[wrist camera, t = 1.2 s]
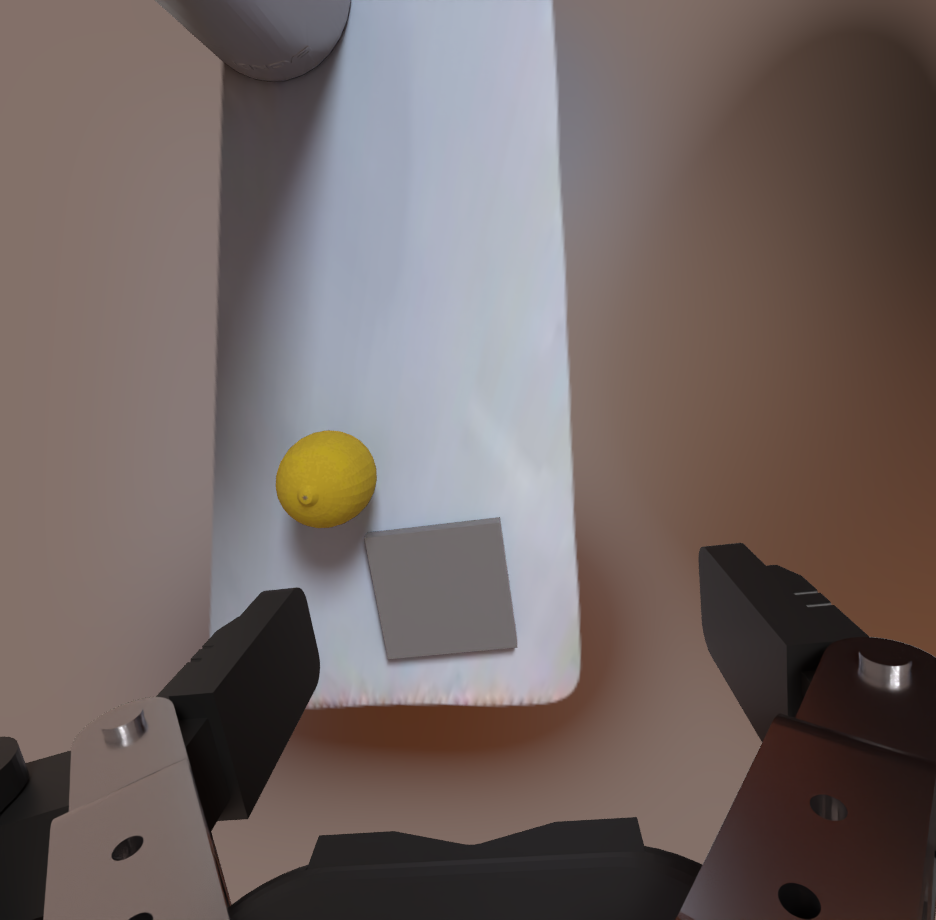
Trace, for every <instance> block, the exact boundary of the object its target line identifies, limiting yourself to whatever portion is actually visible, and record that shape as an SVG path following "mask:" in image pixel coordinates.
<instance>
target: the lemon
mask: <svg viewBox="0 0 936 920" xmlns="http://www.w3.org/2000/svg"><path fill="white" fill-rule="evenodd" d="M376 481H377V475H376V466H375V463H374V459H373V457H372V455H371V453H370V452H369V450H368V448H367V447H366V446H365V445H364V444H363V443H362V442H361V441H360V440H358V439H356V438H355V437H353V436H352V435H349V434H346V433H343V432H340V431H322V432H316V433H313V434H311V435H308V436H306V437H304V438H302V439H300V440H299V441H298V442H297V443H296V444H294V445H293V446H292V447H291V448H290V449H289V450H288V452H287V453H286V455H285V456H284V458H283V459H282V461H281V463H280V465H279V468H278V472H277V475H276V491H277V496H278V499H279V501H280V503H281V505H282V507H283V508H284V510H285V511H286V512H287V513H288V515H290V516H291V517H292V518H293V519H295V520H296V521H297V522H300V523H302V524H304V525H306V526H311V527H315V528H329V527H334V526H337V525H340V524H343V523H346V522H347V521H349V520H351V519H352V518H354V517H356V516H357V515H358V514H359V513H360V512H361V511H362V510H363V509H364V508H365V507H366V506H367V504H368V503H369V501H370V499H371V497H372V495H373V493H374V489H375V485H376Z"/></svg>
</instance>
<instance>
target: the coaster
mask: <svg viewBox="0 0 936 920" xmlns="http://www.w3.org/2000/svg"><path fill="white" fill-rule="evenodd" d="M364 540H365V545H366V550H367V555H368V560H369V565H370V570H371V576H372V581H373V586H374V591H375V596H376V601H377V606H378V611H379V616H380V621H381V626H382V631H383V636H384V641H385V646H386V651H387V657H388V659H398V658H408V657H419V656H430V655H441V654H452V653H463V652H473V651H484V650H495V649H506V648H517V634H516V627H515V620H514V613H513V606H512V599H511V592H510V585H509V578H508V571H507V564H506V556H505V549H504V542H503V535H502V528H501V521H500V517H499V518H490V519H481V520H473V521H464V522H455V523H447V524H438V525H429V526H421V527H412V528H403V529H395V530H386V531H377V532H369V533H367V534H366V536H365V537H364Z"/></svg>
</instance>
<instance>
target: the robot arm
mask: <svg viewBox="0 0 936 920" xmlns="http://www.w3.org/2000/svg"><path fill="white" fill-rule="evenodd" d="M155 1H156V2H157V3H158V4H159V5H161V6H162V7H163V8H164V9H165V10H166V11H167V12H168V13H170V14H171V15H172V16H173V17H174V18H175V19H176V20H178V22H180V23H181V24H182V25H183V26H184V27H185V28H186V29H187V30H188V31H189V32H190V33H192V34H193V35H194V36H195V37H196V38H197V39H198V40H200V41H201V42H202V43H203V44H204V45H205V46H206V47H208V48H209V49H210V50H211V51H212V52H213V53H214V54H215V55H216V56H218V57H219V58H220V59H221V60H222V61H223V62H224V63H226V64H227V65H229V66H230V67H232V68H233V69H234V70H236V71H237V72H239V73H242V74H244V75H246V76H249V77H251V78H253V79H259V80H265V81H282V80H289V79H292V78H295V77H298V76H301V75H303V74H305V73H306V72H308V71H310V70H311V69H313V68H314V67H316V66H318V65H319V64H320V63H321V62H322V61H323V60H324V59H325V58H326V57H327V56H328V55H329V54H330V52H331V51H332V49H333V48H334V46H335V44H336V43H337V41H338V40H339V38H340V36H341V34H342V31H343V29H344V26H345V24H346V21H347V18H348V12H349V7H350V2H351V0H155ZM699 576H700V594H701V612H702V626H703V632H704V637H705V641H706V644H707V647H708V650H709V652H710V654H711V656H712V658H713V659H714V661H715V663H716V665H717V666H718V668H719V670H720V672H721V673H722V675H723V677H724V678H725V680H726V682H727V683H728V685H729V687H730V688H731V690H732V692H733V693H734V695H735V697H736V699H737V700H738V702H739V704H740V706H741V707H742V709H743V710H744V712H745V714H746V716H747V717H748V719H749V721H750V722H751V724H752V726H753V728H754V729H755V731H756V733H757V734H758V736H759V738H760V739H761V741H762V744H761V746H760V748H759V750H758V752H757V754H756V756H755V758H754V760H753V762H752V764H751V767H750V769H749V771H748V773H747V775H746V777H745V779H744V781H743V783H742V785H741V787H740V789H739V791H738V793H737V795H736V797H735V799H734V801H733V803H732V805H731V808H730V810H729V812H728V814H727V816H726V818H725V820H724V822H723V824H722V826H721V828H720V830H719V832H718V834H717V836H716V838H715V840H714V842H713V844H712V846H711V849H710V851H709V853H708V855H707V857H706V859H705V861H704V863H703V865H702V864H700V863H698V862H695V861H693V860H690V859H688V858H685V857H683V856H680V855H678V854H674V853H671V852H667V851H664V850H661V849H657V848H652V847H647V846H644V844H643V840H642V836H641V832H640V828H639V824H638V820H637V817H633V818H616V819H599V820H581V821H564V822H554V823H550V824H547V825H544V826H540V827H536V828H533V829H529V830H526V831H522V832H519V833H515V834H512V835H508V836H505V837H502V838H498V839H495V840H491V841H488V842H484V843H481V844H476V845H465V844H459V843H453V842H448V841H443V840H438V839H432V838H427V837H422V836H416V835H411V834H406V833H400V832H395V831H391V832H374V833H358V834H357V833H356V834H339V835H322V836H319V837H318V840H317V843H316V845H315V848H314V851H313V854H312V856H311V859H310V862H309V865H306V866H303V867H299V868H297V869H294V870H292V871H290V872H287V873H284V874H282V875H280V876H278V877H276V878H274V879H272V880H270V881H268V882H266V883H264V884H262V885H261V886H259V887H257V888H256V889H254V890H253V891H251V892H249V893H248V894H246V895H245V896H243V897H242V898H240V899H239V900H238V901H236V902H235V903H234V904H231V901H230V897H229V893H228V890H227V886H226V883H225V879H224V875H223V872H222V868H221V864H220V861H219V857H218V854H217V850H216V846H215V843H214V840H213V836H212V833H211V831H212V829H213V827H214V825H215V824H216V822H217V821H224V820H240V819H248V818H249V816H250V814H251V812H252V810H253V808H254V806H255V804H256V803H257V801H258V799H259V797H260V794H261V793H262V791H263V789H264V787H265V785H266V783H267V781H268V779H269V777H270V775H271V774H272V771H273V769H274V768H275V766H276V763H277V762H278V760H279V758H280V756H281V754H282V752H283V750H284V748H285V747H286V745H287V742H288V741H289V739H290V737H291V735H292V733H293V731H294V729H295V727H296V725H297V723H298V721H299V720H300V718H301V716H302V714H303V712H304V710H305V708H306V706H307V704H308V702H309V700H310V698H311V696H312V694H313V692H314V691H315V689H316V686H317V684H318V680H319V674H320V659H319V653H318V648H317V644H316V639H315V635H314V631H313V626H312V622H311V617H310V613H309V608H308V604H307V600H306V596H305V594H304V592H303V591H302V589H300V588H288V589H279V590H269V591H263V592H261V593H260V594H259V595H258V596H257V598H256V599H255V600H254V601H253V602H252V603H251V604H250V605H249V607H248V608H247V609H246V610H245V611H244V612H243V613H242V614H241V616H240V617H237V618H236V619H234V620H233V621H231V622H230V623H228V624H227V625H225V626H224V627H222V628H220V629H219V630H217V631H216V632H215V633H214V634H213V635H212V637H211V638H210V639H209V640H208V641H207V642H206V643H205V644H204V645H203V646H202V647H203V649H200V650H199V651H198V652H197V653H196V654H195V655H194V656H193V657H192V658H191V662H188V663H187V664H186V665H185V666H184V667H183V668H182V669H181V670H180V671H179V672H178V673H177V675H176V676H175V677H174V678H173V679H172V680H171V681H170V682H169V683H168V684H167V685H166V686H165V687H164V689H163V690H162V691H161V692H160V693H159V694H158V695H157V696H156V697H149V698H143V699H138V700H135V701H131V702H128V703H126V704H123V705H120V706H118V707H116V708H114V709H112V710H110V711H108V712H106V713H104V714H103V715H101V716H99V717H98V718H96V719H95V720H93V721H92V722H91V723H89V724H88V725H87V726H86V727H85V728H83V730H82V731H81V732H80V733H79V734H78V735H77V736H76V738H75V739H74V741H73V743H72V747H71V751H68V752H64V753H61V754H57V755H54V756H50V757H47V758H43V759H39V760H36V761H33V762H29V763H25V761H24V759H23V756H22V754H21V751H20V748H19V745H18V743H17V741H16V740H15V739H14V738H11V737H0V920H935V915H936V657H934V656H932V655H931V654H929V653H927V652H925V651H923V650H921V649H919V648H916V647H914V646H911V645H908V644H905V643H902V642H898V641H894V640H889V639H884V638H874V637H869V636H868V635H867V634H866V633H865V632H863V631H862V630H861V629H860V628H859V627H858V626H857V625H856V624H854V623H853V622H852V621H851V620H850V619H849V618H848V617H847V616H846V615H844V614H843V613H842V612H841V611H840V610H839V609H838V608H837V607H836V606H834V605H831V602H830V601H829V600H828V599H827V598H826V597H824V596H823V595H822V594H821V593H818V592H817V589H816V588H815V587H813V586H812V585H811V584H810V583H809V582H808V581H807V580H806V579H804V578H803V577H802V576H801V575H798V574H796V573H794V572H792V571H789V570H787V569H785V568H783V567H780V566H778V565H769V566H766V565H764V563H763V562H762V561H761V560H759V559H758V558H757V557H756V556H755V555H754V554H753V553H752V552H751V551H750V550H749V549H748V548H747V547H746V546H745V545H744V544H743V543H736V544H725V545H716V546H706V547H701V548H700V551H699Z"/></svg>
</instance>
